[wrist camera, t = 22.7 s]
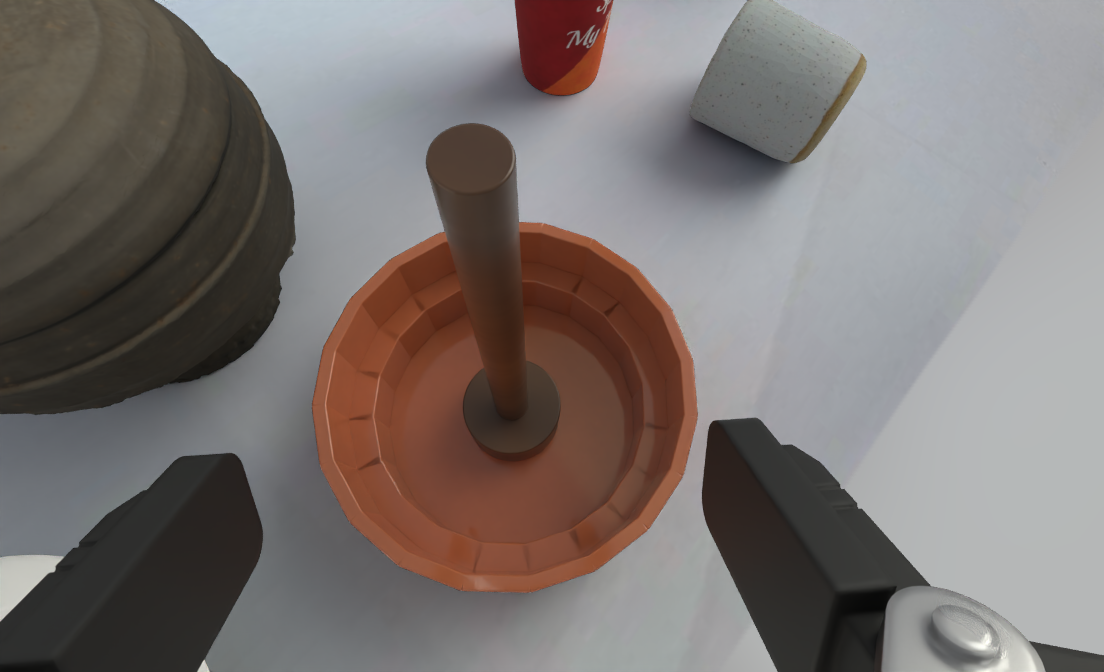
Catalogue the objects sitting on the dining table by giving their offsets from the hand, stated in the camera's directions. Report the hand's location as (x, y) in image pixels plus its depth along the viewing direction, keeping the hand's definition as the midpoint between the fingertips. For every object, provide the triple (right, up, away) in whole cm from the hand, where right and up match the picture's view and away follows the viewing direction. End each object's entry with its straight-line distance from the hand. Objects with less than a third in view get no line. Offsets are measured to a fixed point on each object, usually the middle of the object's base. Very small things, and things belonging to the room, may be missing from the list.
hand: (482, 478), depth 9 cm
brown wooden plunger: (-1, -2, +19) cm, 19 cm away
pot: (-20, +5, +22) cm, 30 cm away
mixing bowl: (-1, -2, +19) cm, 19 cm away
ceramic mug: (+16, +18, +28) cm, 37 cm away
